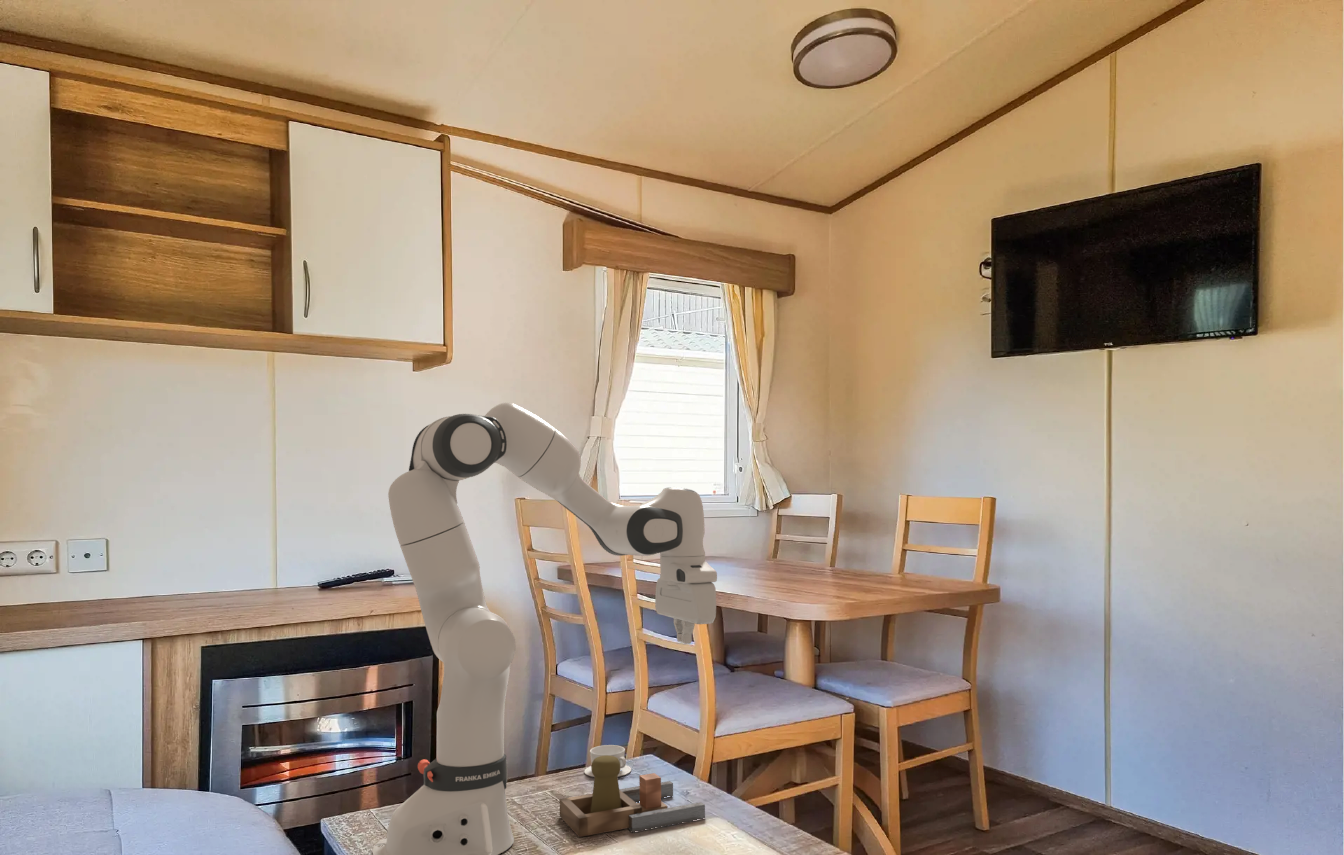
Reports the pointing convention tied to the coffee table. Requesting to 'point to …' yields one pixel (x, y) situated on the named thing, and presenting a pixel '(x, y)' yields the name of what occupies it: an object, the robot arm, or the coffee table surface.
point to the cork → (605, 784)
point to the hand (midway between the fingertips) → (684, 642)
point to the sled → (588, 823)
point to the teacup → (610, 751)
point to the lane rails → (662, 811)
